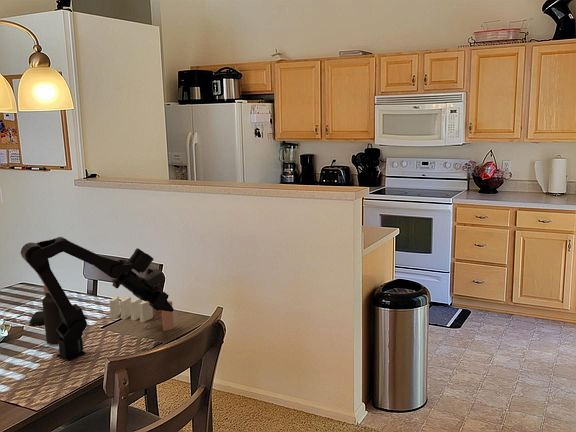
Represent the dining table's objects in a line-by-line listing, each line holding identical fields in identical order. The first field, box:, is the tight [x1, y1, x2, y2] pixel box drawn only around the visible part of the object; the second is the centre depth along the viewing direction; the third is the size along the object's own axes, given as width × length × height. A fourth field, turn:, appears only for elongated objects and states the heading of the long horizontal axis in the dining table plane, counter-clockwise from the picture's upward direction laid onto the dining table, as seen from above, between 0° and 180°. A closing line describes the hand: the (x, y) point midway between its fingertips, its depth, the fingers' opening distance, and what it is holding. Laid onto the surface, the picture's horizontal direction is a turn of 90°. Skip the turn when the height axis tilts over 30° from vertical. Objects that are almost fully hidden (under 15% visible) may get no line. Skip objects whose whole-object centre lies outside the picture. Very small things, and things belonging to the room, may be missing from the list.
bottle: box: [41, 284, 62, 345], centre depth 190 cm, size 7×7×20 cm
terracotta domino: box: [160, 300, 175, 332], centre depth 199 cm, size 2×4×10 cm, turn 127°
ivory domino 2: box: [119, 296, 132, 320], centre depth 212 cm, size 2×5×7 cm, turn 165°
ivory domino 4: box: [139, 301, 154, 323], centre depth 209 cm, size 2×5×7 cm, turn 150°
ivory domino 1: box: [109, 295, 121, 320], centre depth 213 cm, size 2×5×7 cm, turn 173°
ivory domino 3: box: [130, 297, 143, 321], centre depth 211 cm, size 2×5×7 cm, turn 158°
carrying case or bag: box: [29, 310, 45, 326], centre depth 211 cm, size 11×3×15 cm
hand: (167, 306), depth 199 cm, fingers open, 9 cm apart
